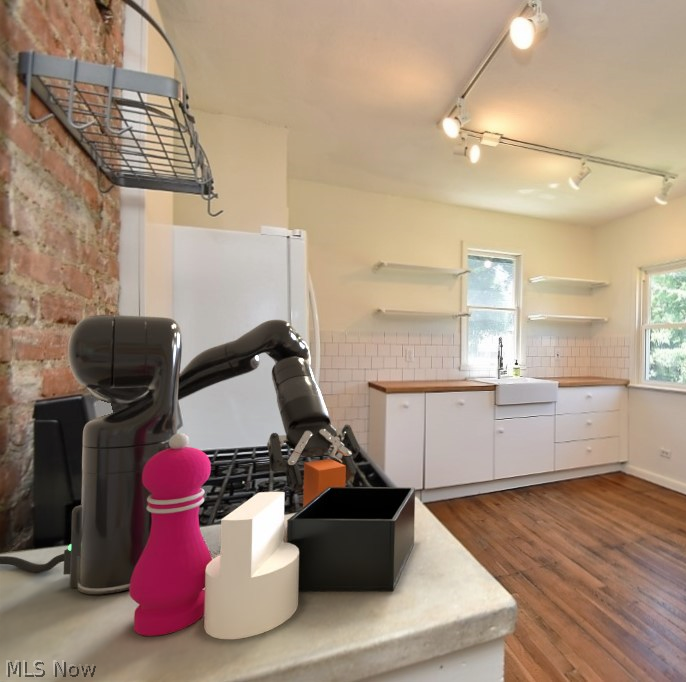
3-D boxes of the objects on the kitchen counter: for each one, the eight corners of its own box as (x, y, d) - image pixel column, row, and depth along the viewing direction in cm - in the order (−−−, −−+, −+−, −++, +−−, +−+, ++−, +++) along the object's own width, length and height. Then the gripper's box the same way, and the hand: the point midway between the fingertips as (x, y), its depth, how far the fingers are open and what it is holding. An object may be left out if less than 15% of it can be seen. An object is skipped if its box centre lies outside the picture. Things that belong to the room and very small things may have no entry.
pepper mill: (169, 644, 44) (177, 442, 45) (108, 634, 46) (117, 437, 46) (227, 604, 52) (234, 429, 52) (173, 596, 53) (180, 426, 53)
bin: (285, 591, 54) (287, 520, 55) (327, 544, 67) (328, 486, 68) (393, 591, 55) (394, 520, 55) (414, 544, 68) (415, 487, 68)
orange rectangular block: (317, 533, 71) (318, 470, 71) (302, 522, 76) (303, 462, 76) (344, 526, 74) (345, 465, 74) (328, 515, 79) (330, 458, 79)
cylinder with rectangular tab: (279, 636, 46) (282, 519, 46) (184, 642, 45) (187, 521, 45) (309, 589, 55) (311, 490, 55) (230, 592, 54) (233, 492, 54)
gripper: (334, 415, 89) (359, 487, 81) (254, 423, 79) (273, 505, 71) (346, 391, 86) (374, 463, 77) (264, 396, 76) (286, 479, 67)
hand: (326, 483), depth 74 cm, fingers open, 8 cm apart
